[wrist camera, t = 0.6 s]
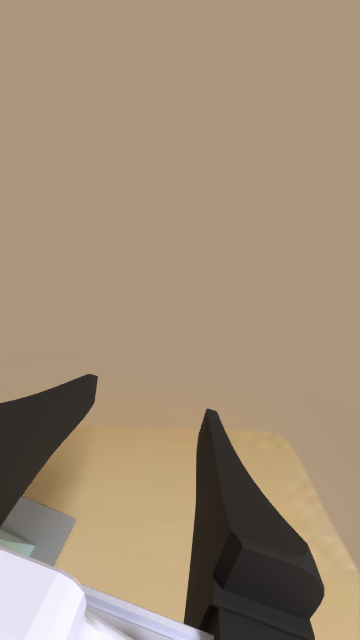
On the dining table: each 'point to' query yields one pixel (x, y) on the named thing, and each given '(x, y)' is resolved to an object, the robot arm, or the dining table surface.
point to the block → (15, 543)
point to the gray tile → (39, 528)
